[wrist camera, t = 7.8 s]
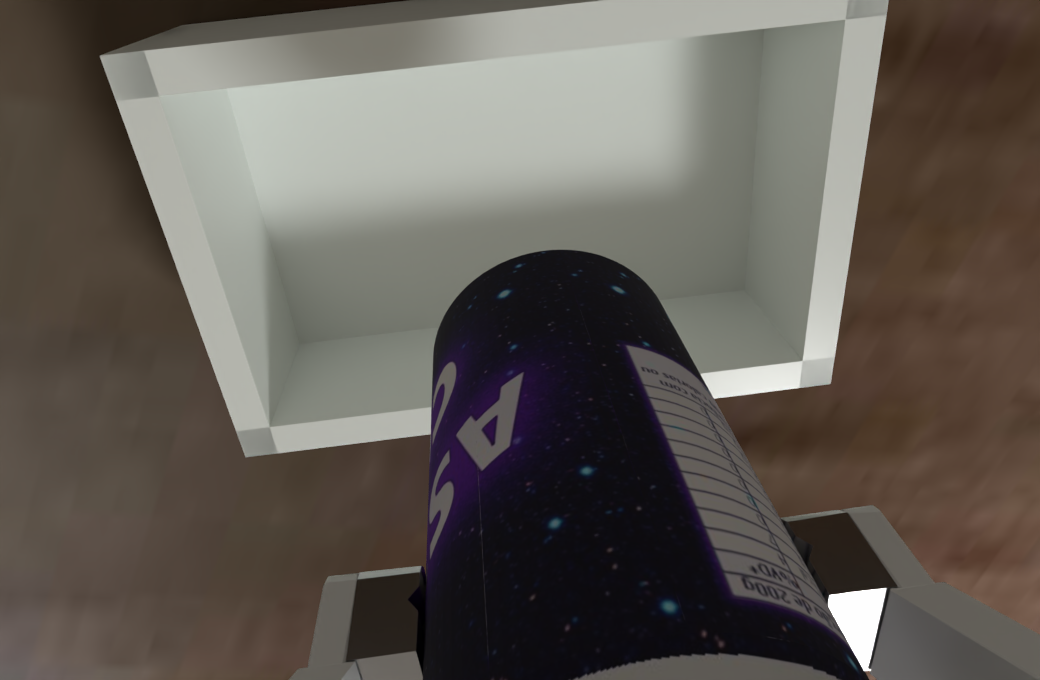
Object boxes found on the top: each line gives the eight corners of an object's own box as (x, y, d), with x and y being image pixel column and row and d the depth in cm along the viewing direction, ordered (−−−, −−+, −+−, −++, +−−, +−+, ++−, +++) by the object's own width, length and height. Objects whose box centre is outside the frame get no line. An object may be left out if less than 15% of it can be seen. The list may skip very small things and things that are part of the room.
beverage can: (474, 202, 16) (523, 728, 6) (700, 271, 17) (1073, 797, 7) (407, 404, 18) (357, 1020, 8) (608, 450, 20) (781, 1027, 10)
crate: (790, -42, 26) (893, -32, 20) (761, 300, 33) (830, 383, 27) (182, 25, 26) (99, 55, 20) (283, 358, 33) (245, 457, 27)
